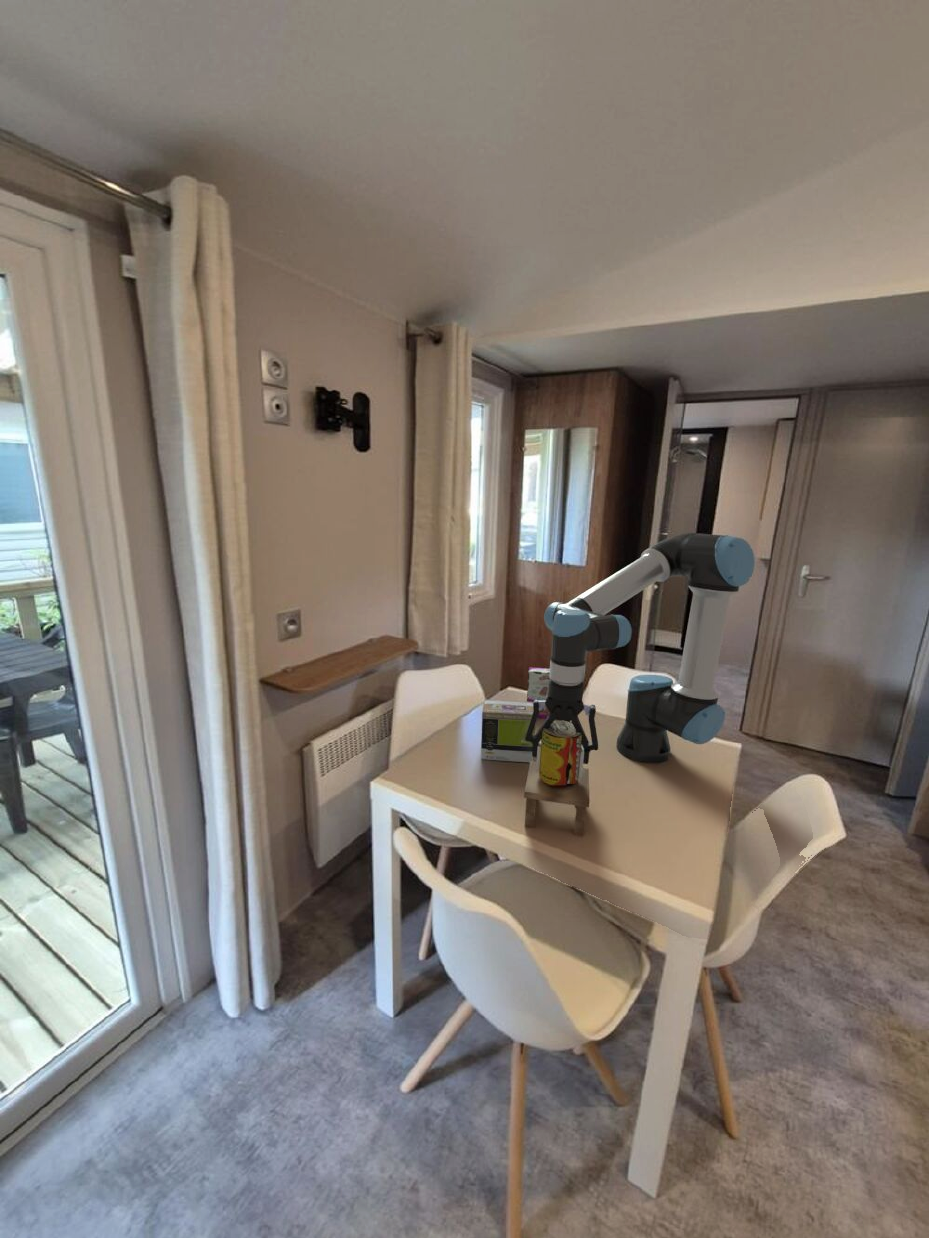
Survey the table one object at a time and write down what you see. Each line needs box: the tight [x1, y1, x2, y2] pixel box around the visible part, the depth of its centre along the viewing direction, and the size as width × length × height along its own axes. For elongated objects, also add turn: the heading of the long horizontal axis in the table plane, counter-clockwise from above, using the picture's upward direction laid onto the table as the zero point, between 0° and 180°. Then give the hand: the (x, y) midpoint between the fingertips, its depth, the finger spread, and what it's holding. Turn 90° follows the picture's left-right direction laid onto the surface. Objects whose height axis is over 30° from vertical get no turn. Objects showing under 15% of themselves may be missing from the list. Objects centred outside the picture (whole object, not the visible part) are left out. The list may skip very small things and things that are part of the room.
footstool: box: [523, 760, 590, 837], centre depth 119 cm, size 14×14×9 cm
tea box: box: [480, 699, 537, 764], centre depth 146 cm, size 15×10×15 cm, turn 84°
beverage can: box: [539, 719, 582, 787], centre depth 116 cm, size 9×9×12 cm
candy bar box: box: [526, 666, 551, 719], centre depth 172 cm, size 11×5×16 cm, turn 80°
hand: (558, 772), depth 117 cm, fingers closed on beverage can, 9 cm apart
